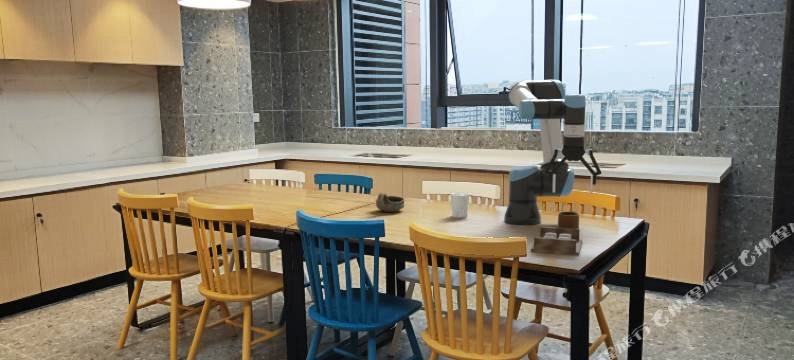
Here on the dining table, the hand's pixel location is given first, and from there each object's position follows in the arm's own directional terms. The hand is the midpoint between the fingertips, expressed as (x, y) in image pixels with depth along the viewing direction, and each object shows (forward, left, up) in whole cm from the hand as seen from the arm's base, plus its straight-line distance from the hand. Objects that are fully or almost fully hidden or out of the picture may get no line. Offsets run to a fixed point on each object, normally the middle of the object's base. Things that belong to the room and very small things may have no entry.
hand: (572, 192), depth 238 cm
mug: (-1, -1, -17) cm, 17 cm away
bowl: (-84, +26, -17) cm, 89 cm away
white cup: (-50, +25, -17) cm, 58 cm away
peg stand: (-4, -18, -17) cm, 25 cm away
